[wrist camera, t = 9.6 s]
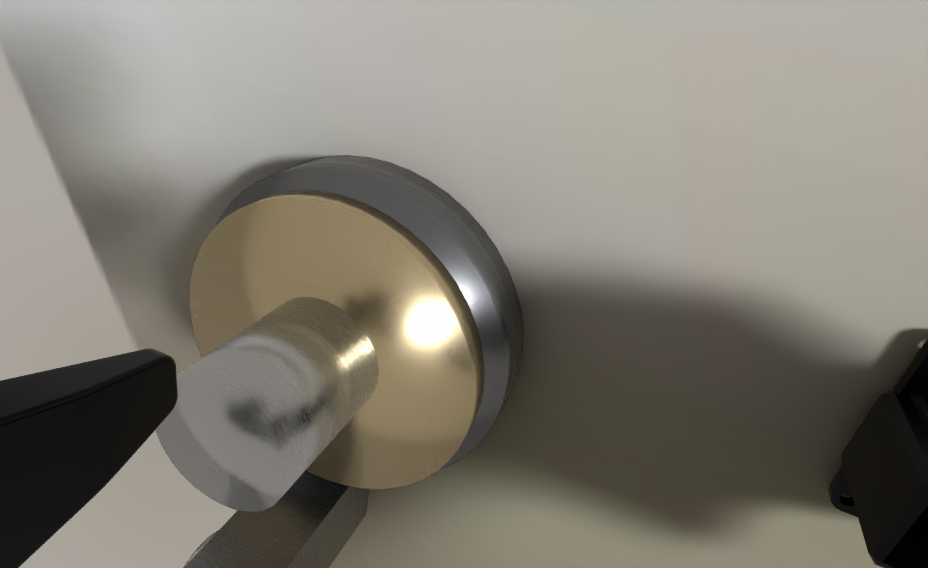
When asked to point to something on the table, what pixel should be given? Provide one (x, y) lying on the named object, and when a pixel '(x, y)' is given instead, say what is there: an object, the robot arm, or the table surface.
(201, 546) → the base
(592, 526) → the table surface
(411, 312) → the pan
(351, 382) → the cylinder
